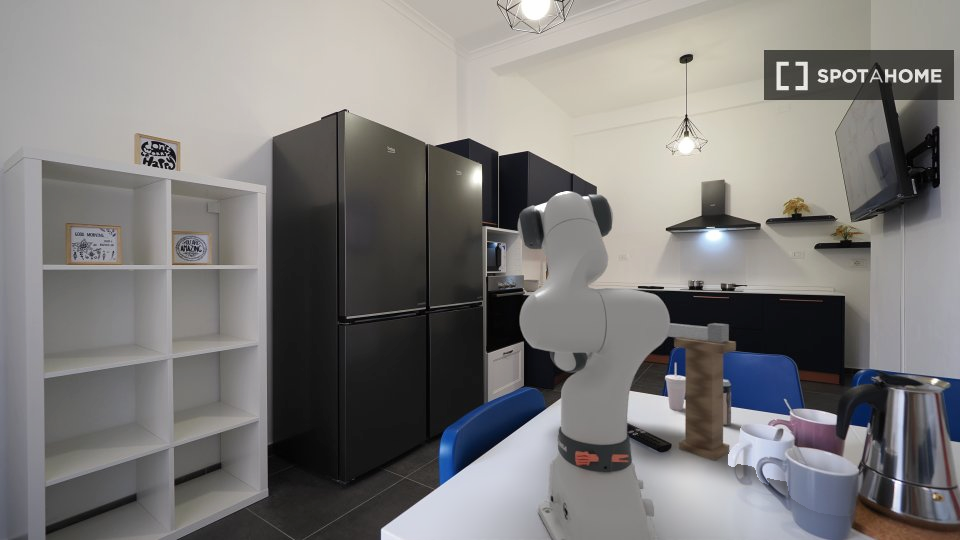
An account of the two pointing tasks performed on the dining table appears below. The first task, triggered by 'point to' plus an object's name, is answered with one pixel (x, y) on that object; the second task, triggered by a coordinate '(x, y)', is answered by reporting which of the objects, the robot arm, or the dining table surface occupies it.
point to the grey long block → (701, 332)
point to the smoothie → (676, 390)
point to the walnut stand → (704, 397)
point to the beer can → (726, 402)
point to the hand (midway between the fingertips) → (662, 327)
